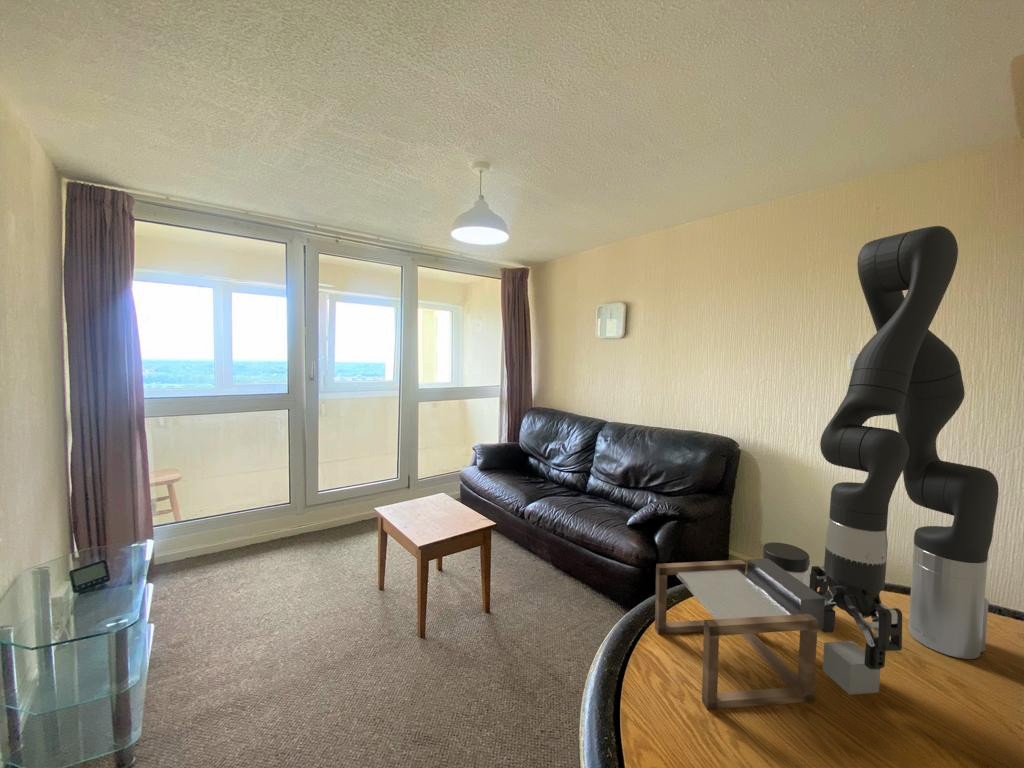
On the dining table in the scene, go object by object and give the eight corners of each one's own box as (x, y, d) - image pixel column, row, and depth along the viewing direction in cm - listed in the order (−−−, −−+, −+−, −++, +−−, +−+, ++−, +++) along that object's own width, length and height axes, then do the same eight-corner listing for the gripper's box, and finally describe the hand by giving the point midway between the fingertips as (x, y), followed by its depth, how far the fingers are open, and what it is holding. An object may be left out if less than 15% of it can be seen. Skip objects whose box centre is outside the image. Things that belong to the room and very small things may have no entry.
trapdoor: (763, 581, 80) (764, 556, 79) (827, 632, 65) (829, 601, 65) (675, 586, 78) (676, 560, 78) (720, 638, 64) (721, 607, 63)
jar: (819, 616, 84) (821, 558, 84) (785, 621, 83) (788, 563, 82) (781, 591, 93) (783, 539, 92) (750, 596, 91) (752, 543, 90)
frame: (738, 623, 82) (740, 559, 81) (813, 701, 64) (817, 619, 63) (654, 628, 81) (656, 563, 80) (707, 709, 62) (709, 626, 61)
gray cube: (850, 669, 70) (852, 640, 70) (878, 692, 65) (880, 662, 65) (822, 670, 70) (824, 642, 70) (849, 695, 65) (850, 664, 65)
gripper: (924, 573, 59) (915, 681, 60) (838, 531, 74) (832, 619, 75) (875, 574, 59) (867, 683, 60) (798, 532, 73) (793, 621, 74)
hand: (848, 648), depth 67 cm, fingers open, 8 cm apart
